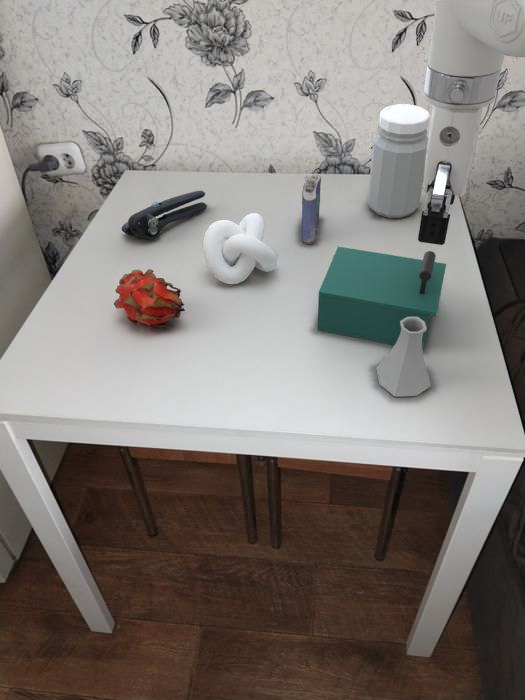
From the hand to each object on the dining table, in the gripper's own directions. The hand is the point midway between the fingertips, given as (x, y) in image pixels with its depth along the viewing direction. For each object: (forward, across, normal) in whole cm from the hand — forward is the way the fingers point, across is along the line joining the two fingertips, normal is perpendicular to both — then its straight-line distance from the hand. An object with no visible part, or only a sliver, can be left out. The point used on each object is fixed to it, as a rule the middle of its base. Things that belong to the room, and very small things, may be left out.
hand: (436, 221), depth 75 cm
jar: (+18, +33, +10) cm, 39 cm away
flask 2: (+18, +21, +23) cm, 36 cm away
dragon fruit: (+18, -9, +39) cm, 44 cm away
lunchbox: (+18, +1, +6) cm, 19 cm away
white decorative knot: (+18, +6, +29) cm, 35 cm away
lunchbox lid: (+12, +1, +6) cm, 13 cm away
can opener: (+18, +16, +48) cm, 54 cm away
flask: (+19, -11, 0) cm, 21 cm away
